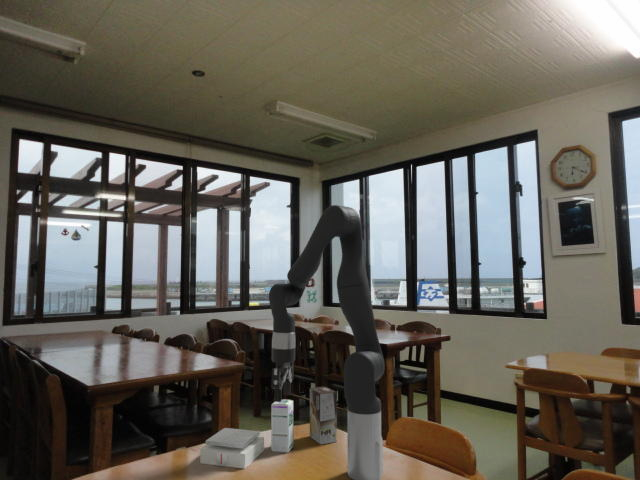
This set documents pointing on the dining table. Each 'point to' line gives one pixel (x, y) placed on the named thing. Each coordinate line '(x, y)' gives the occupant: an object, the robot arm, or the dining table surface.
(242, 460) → the white square slab
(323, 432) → the coffee box
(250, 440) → the pan
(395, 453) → the dining table surface
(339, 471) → the dining table surface
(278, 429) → the syrup box
